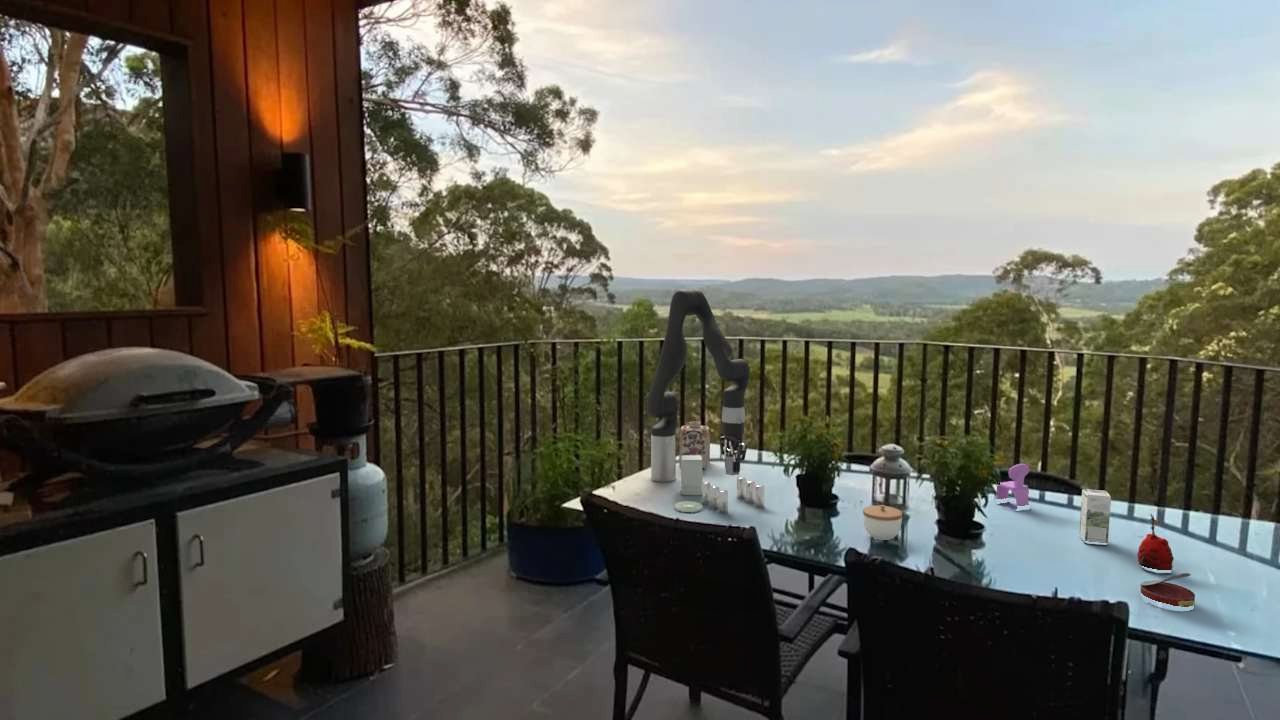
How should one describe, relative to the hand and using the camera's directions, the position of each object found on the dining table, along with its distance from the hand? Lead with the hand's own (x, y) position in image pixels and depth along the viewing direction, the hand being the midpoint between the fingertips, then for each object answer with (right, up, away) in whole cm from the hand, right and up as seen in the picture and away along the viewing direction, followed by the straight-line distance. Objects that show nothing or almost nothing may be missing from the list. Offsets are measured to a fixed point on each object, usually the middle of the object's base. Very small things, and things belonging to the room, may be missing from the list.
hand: (732, 470), depth 232 cm
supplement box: (-12, -11, +16) cm, 23 cm away
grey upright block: (0, -1, 0) cm, 1 cm away
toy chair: (+91, -12, -3) cm, 92 cm away
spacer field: (0, -12, +1) cm, 12 cm away
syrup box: (+97, -15, -36) cm, 104 cm away
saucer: (-15, -12, -3) cm, 19 cm away
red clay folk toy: (+99, -17, -55) cm, 115 cm away
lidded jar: (+39, -15, -31) cm, 52 cm away
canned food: (+89, -19, -73) cm, 117 cm away
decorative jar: (-8, -7, +54) cm, 55 cm away
